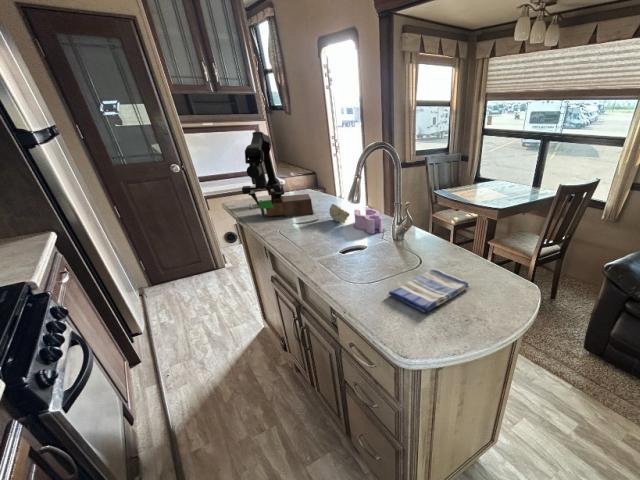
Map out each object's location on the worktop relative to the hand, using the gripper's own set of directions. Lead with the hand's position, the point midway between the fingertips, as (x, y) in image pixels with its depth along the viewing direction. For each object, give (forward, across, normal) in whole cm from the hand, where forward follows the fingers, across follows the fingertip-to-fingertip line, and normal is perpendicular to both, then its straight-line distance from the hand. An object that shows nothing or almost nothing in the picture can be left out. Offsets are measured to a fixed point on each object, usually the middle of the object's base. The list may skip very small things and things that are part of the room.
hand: (265, 205), depth 170 cm
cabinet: (+8, -16, -10) cm, 21 cm away
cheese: (+9, -38, +16) cm, 42 cm away
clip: (+9, -48, +29) cm, 57 cm away
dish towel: (+9, -50, +100) cm, 112 cm away
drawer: (+8, -1, -10) cm, 13 cm away
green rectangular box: (+1, 0, 0) cm, 1 cm away
